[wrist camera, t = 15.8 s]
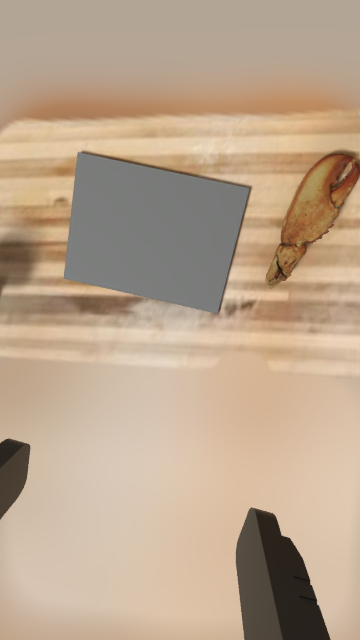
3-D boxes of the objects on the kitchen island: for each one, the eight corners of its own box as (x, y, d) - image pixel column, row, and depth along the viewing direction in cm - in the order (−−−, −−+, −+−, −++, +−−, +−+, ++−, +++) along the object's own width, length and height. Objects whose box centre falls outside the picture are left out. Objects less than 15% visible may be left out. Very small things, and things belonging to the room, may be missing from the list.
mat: (248, 189, 36) (249, 188, 36) (217, 312, 41) (217, 313, 40) (79, 153, 37) (77, 152, 37) (65, 278, 41) (63, 278, 41)
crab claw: (246, 264, 34) (329, 137, 33) (242, 273, 39) (314, 163, 38) (291, 291, 33) (378, 160, 32) (281, 296, 38) (356, 183, 37)
